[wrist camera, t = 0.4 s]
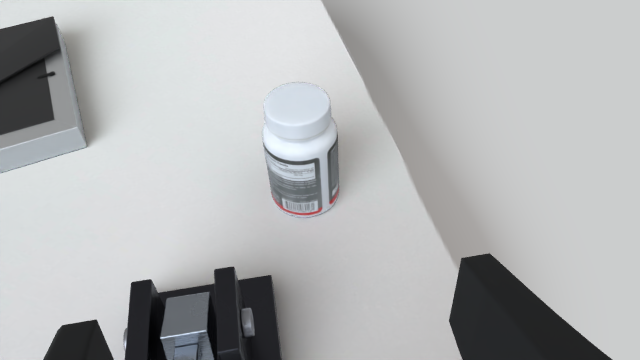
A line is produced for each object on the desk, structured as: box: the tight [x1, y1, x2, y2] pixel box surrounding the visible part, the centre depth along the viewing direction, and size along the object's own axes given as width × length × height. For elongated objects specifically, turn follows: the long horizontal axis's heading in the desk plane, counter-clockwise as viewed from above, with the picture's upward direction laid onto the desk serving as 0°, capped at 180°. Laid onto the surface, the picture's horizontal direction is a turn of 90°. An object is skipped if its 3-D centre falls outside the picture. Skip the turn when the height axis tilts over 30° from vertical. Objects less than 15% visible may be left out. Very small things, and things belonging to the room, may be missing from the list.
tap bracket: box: [124, 267, 282, 360], centre depth 28 cm, size 10×8×7 cm
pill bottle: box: [262, 82, 339, 218], centre depth 36 cm, size 5×5×8 cm
